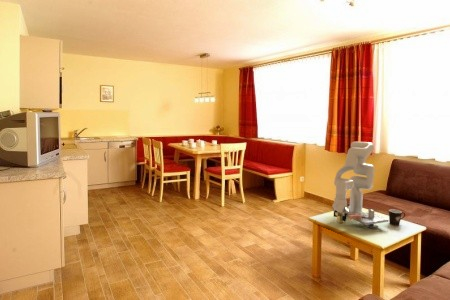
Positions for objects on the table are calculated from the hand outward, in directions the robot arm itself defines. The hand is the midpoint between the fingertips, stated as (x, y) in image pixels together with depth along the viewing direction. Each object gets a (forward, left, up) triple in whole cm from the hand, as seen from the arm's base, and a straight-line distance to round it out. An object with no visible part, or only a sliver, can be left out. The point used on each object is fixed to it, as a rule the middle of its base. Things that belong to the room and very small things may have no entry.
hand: (339, 218), depth 228 cm
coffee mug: (+17, +38, -3) cm, 42 cm away
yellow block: (0, 0, -3) cm, 3 cm away
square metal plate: (+13, +14, -3) cm, 19 cm away
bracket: (+13, +1, +4) cm, 14 cm away
